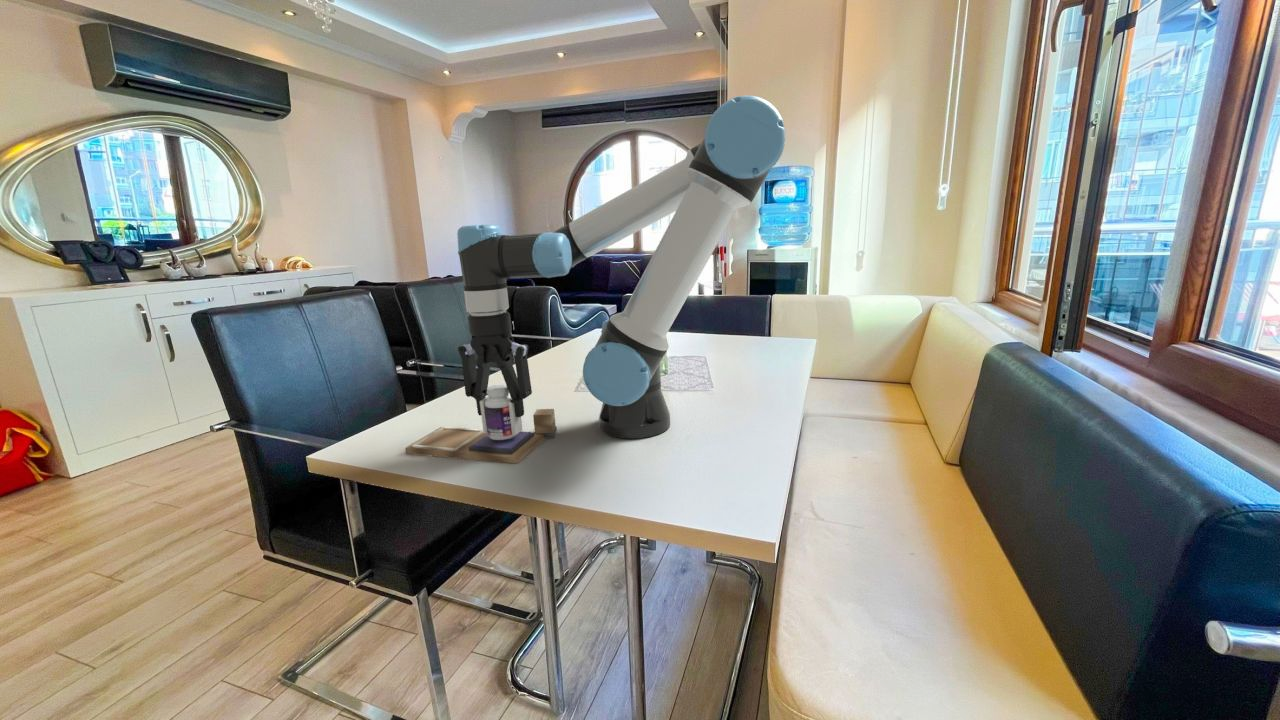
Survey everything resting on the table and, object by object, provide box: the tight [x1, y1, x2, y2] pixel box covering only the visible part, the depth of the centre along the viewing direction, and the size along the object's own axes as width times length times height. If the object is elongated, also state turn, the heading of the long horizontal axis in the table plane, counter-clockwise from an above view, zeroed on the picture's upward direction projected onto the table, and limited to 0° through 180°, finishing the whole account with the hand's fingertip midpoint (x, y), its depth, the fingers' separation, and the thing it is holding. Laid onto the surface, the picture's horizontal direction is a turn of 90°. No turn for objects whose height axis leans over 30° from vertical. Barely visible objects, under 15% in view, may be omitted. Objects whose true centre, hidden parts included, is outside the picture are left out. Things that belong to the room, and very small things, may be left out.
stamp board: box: [404, 426, 545, 465], centre depth 102 cm, size 24×11×2 cm, turn 74°
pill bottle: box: [485, 384, 515, 440], centre depth 99 cm, size 5×5×10 cm
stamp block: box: [533, 408, 558, 439], centre depth 107 cm, size 4×4×5 cm
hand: (503, 431), depth 100 cm, fingers closed on pill bottle, 5 cm apart
